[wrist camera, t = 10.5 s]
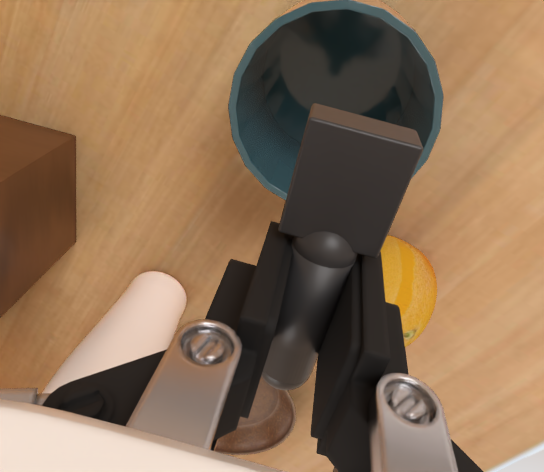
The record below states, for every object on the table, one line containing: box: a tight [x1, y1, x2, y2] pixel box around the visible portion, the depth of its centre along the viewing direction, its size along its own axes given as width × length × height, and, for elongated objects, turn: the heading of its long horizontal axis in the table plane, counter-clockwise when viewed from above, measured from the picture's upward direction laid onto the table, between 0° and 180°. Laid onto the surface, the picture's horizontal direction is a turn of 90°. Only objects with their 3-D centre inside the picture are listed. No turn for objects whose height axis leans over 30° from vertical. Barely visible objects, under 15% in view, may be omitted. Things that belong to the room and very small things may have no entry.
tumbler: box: [228, 0, 443, 200], centre depth 27 cm, size 10×10×9 cm
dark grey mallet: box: [261, 103, 423, 390], centre depth 12 cm, size 8×2×2 cm, turn 167°
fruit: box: [380, 235, 437, 347], centre depth 34 cm, size 9×8×8 cm
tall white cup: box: [41, 271, 187, 394], centre depth 36 cm, size 7×7×15 cm
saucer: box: [215, 376, 296, 455], centre depth 46 cm, size 15×15×3 cm
